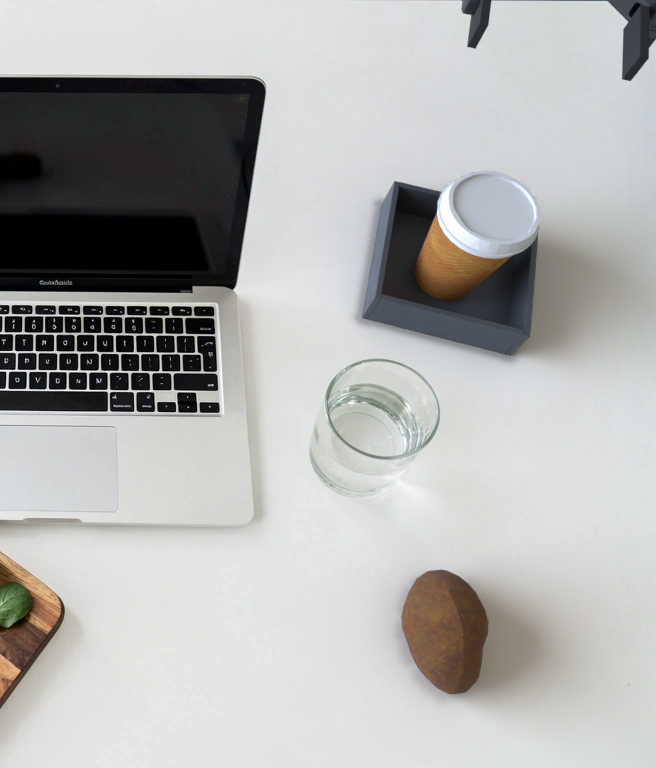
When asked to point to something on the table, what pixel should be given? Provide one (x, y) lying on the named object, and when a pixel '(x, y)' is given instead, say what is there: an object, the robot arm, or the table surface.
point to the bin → (435, 316)
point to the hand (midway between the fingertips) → (555, 52)
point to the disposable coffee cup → (475, 232)
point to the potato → (445, 630)
